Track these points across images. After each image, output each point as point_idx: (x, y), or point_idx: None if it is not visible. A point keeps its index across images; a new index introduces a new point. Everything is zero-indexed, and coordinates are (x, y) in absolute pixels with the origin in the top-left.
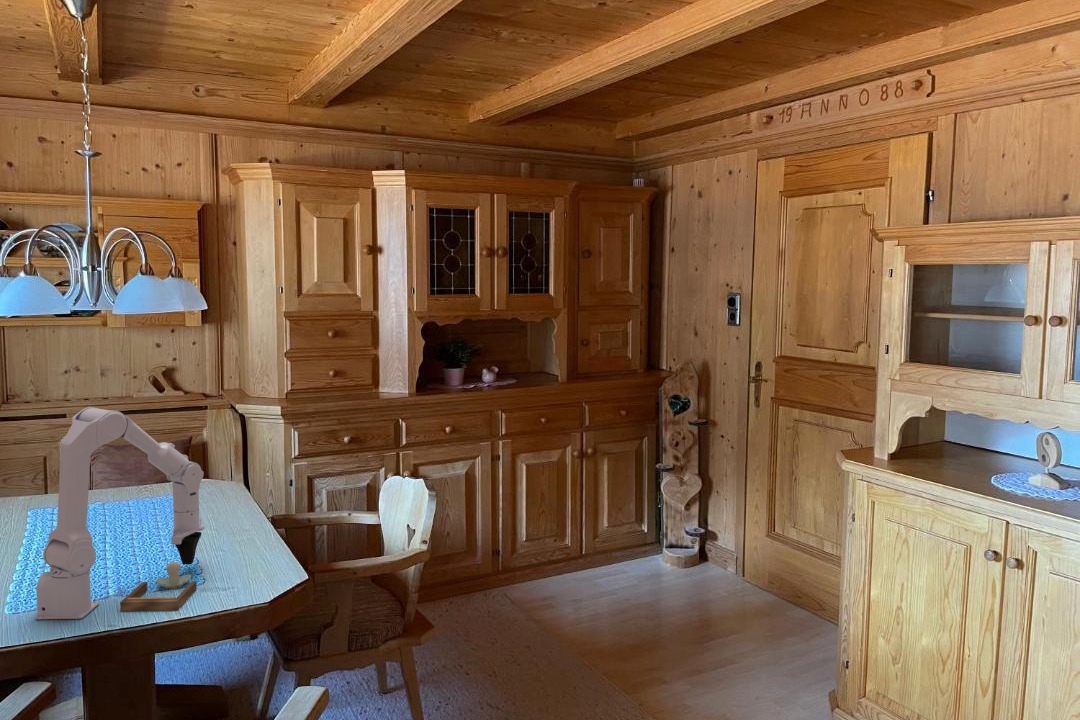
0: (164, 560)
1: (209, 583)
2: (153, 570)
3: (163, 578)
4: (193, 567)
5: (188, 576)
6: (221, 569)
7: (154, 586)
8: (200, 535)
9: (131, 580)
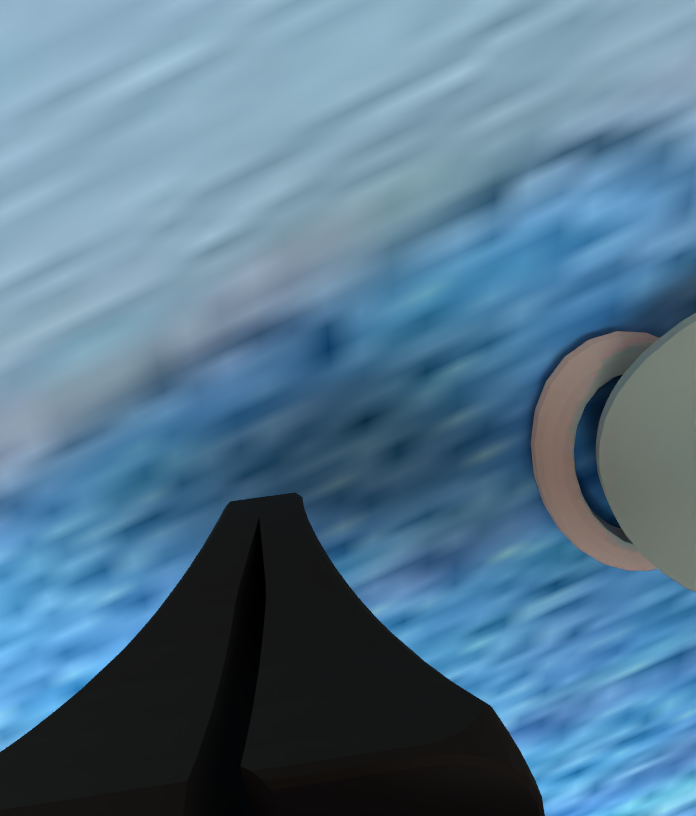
0: None
1: (654, 46)
2: None
3: (669, 571)
4: (126, 491)
5: (679, 341)
6: (119, 110)
7: (658, 580)
8: (57, 794)
9: None
